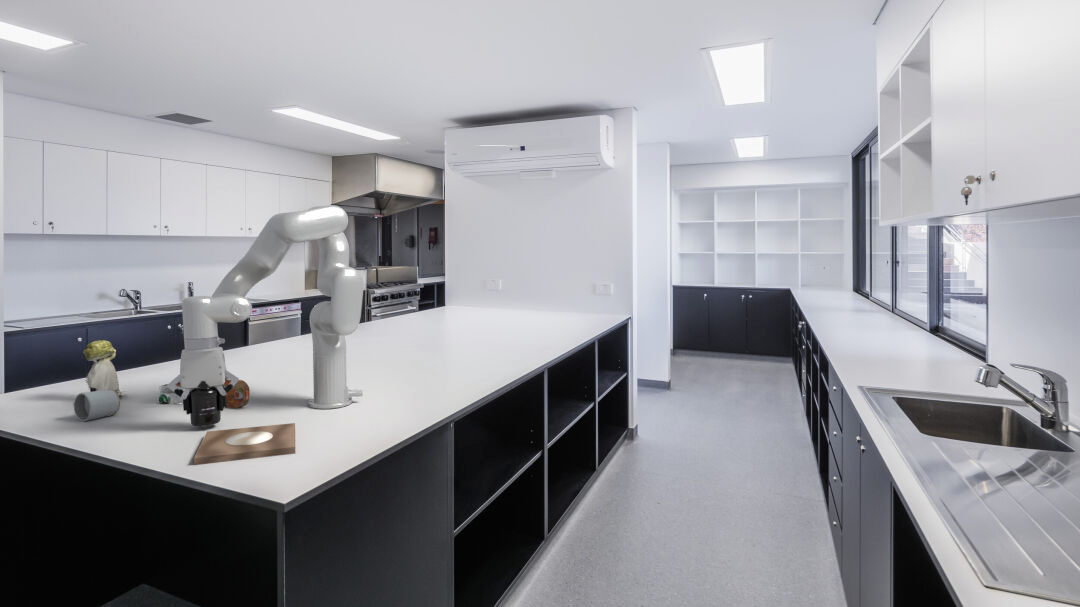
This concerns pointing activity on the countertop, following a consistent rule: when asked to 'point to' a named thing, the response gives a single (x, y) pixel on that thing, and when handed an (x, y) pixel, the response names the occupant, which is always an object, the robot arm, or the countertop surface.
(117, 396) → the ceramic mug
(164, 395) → the juice carton
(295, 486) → the countertop surface
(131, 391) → the countertop surface
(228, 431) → the walnut board
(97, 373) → the beige figurine with hat
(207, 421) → the supplement bottle
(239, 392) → the tin
